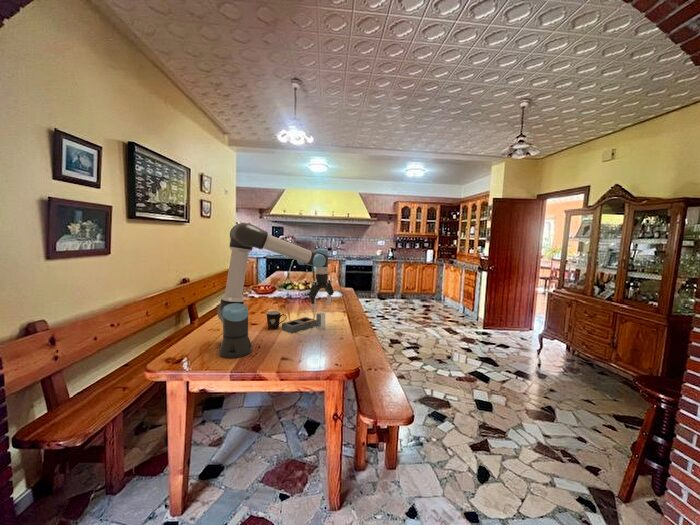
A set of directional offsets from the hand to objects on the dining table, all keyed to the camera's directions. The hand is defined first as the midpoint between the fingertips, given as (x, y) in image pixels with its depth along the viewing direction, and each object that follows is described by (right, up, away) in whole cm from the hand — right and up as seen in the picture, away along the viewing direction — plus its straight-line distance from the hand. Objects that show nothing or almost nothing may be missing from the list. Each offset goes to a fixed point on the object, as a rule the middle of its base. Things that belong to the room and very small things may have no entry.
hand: (321, 306), depth 184 cm
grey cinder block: (-14, -14, +2) cm, 20 cm away
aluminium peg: (-1, -14, +1) cm, 14 cm away
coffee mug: (-29, -14, -1) cm, 32 cm away
